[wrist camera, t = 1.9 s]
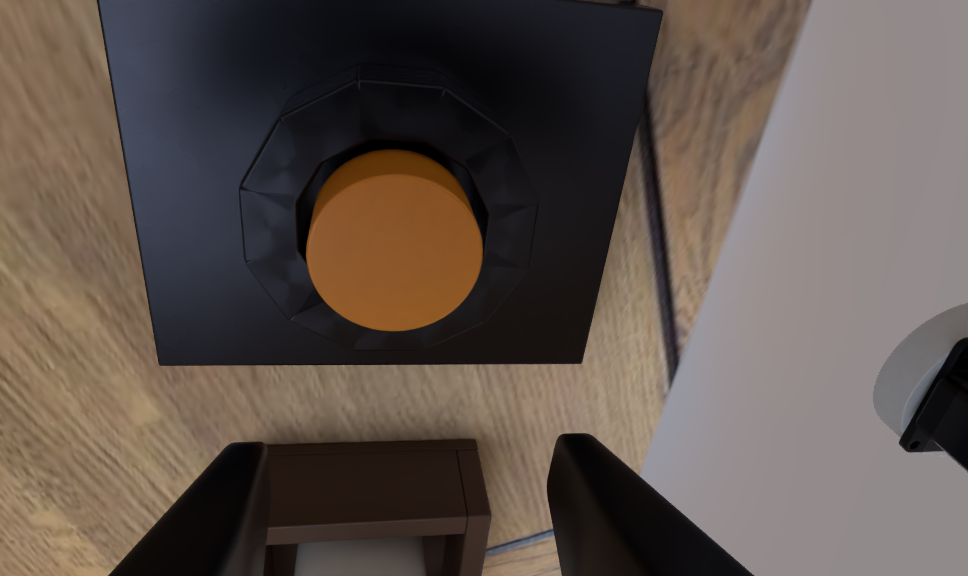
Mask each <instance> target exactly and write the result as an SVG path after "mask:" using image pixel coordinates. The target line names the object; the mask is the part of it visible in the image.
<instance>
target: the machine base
mask: <svg viewBox="0 0 968 576" xmlns="http://www.w3.org/2000/svg"><path fill="white" fill-rule="evenodd" d="M97 4H98V10H99V16H100V22H101V28H102V34H103V40H104V46H105V51H106V57H107V63H108V69H109V75H110V81H111V87H112V92H113V98H114V104H115V110H116V116H117V122H118V128H119V134H120V139H121V145H122V151H123V157H124V163H125V169H126V175H127V181H128V186H129V192H130V198H131V204H132V210H133V216H134V222H135V227H136V233H137V239H138V245H139V251H140V257H141V263H142V269H143V274H144V280H145V286H146V292H147V298H148V304H149V310H150V315H151V321H152V327H153V333H154V339H155V345H156V351H157V357H158V362H159V365H161V366H206V365H441V364H581V363H582V361H583V356H584V352H585V348H586V343H587V339H588V335H589V331H590V326H591V322H592V318H593V313H594V309H595V305H596V300H597V296H598V292H599V288H600V283H601V279H602V275H603V270H604V266H605V262H606V257H607V253H608V249H609V244H610V240H611V236H612V232H613V227H614V223H615V219H616V214H617V210H618V206H619V201H620V197H621V193H622V189H623V184H624V180H625V176H626V171H627V167H628V163H629V158H630V154H631V150H632V146H633V141H634V137H635V133H636V128H637V124H638V120H639V115H640V111H641V107H642V102H643V98H644V94H645V90H646V85H647V81H648V77H649V72H650V68H651V64H652V59H653V55H654V51H655V47H656V42H657V38H658V34H659V29H660V25H661V21H662V16H663V11H662V10H660V9H656V8H652V7H648V6H644V5H640V4H636V3H632V2H627V1H618V0H97ZM382 149H402V150H409V151H413V152H417V153H420V154H423V155H425V156H428V157H430V158H432V159H433V160H435V161H437V162H439V163H440V164H441V165H443V166H444V167H445V168H447V169H448V170H449V171H450V172H451V173H452V174H453V175H454V176H455V178H456V179H457V180H458V182H459V183H460V184H461V186H462V188H463V190H464V191H465V193H466V196H467V198H468V201H469V203H470V206H471V209H472V211H473V214H474V216H475V219H476V222H477V224H478V227H479V230H480V234H481V238H482V245H483V258H482V264H481V270H480V273H479V275H478V278H477V281H476V283H475V284H474V286H473V288H472V290H471V291H470V293H469V294H468V296H467V297H466V298H465V299H464V301H463V302H462V303H461V304H460V305H459V306H458V307H457V308H456V309H454V310H453V311H452V312H451V313H449V314H448V315H446V316H445V317H444V318H442V319H440V320H438V321H436V322H434V323H432V324H429V325H426V326H424V327H420V328H416V329H411V330H405V331H382V330H376V329H371V328H368V327H364V326H361V325H359V324H356V323H354V322H351V321H350V320H348V319H346V318H344V317H343V316H341V315H340V314H339V313H337V312H336V311H334V310H333V309H332V308H331V307H330V306H329V305H328V304H327V303H326V302H325V301H324V299H323V298H322V297H321V296H320V294H319V293H318V291H317V290H316V288H315V286H314V284H313V282H312V280H311V277H310V274H309V271H308V267H307V259H306V245H307V239H308V234H309V229H310V225H311V220H312V215H313V210H314V205H315V201H316V199H317V196H318V193H319V192H320V190H321V188H322V186H323V184H324V183H325V182H326V180H327V179H328V178H329V176H330V175H331V174H332V173H333V172H334V171H335V170H336V169H337V168H339V167H340V166H341V165H343V164H344V163H345V162H347V161H349V160H351V159H352V158H354V157H356V156H359V155H361V154H364V153H367V152H371V151H375V150H382Z"/></svg>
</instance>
